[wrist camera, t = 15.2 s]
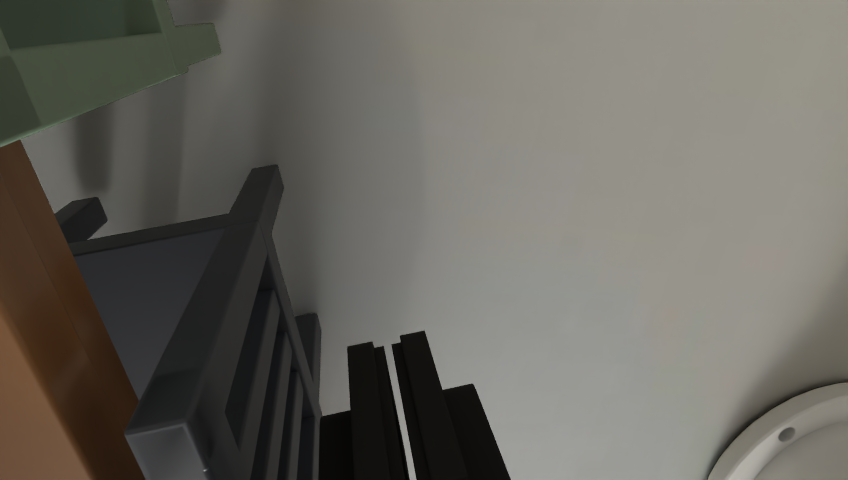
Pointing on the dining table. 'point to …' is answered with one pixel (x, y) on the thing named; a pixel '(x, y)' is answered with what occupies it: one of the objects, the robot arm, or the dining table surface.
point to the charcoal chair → (207, 340)
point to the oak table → (53, 349)
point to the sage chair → (87, 57)
